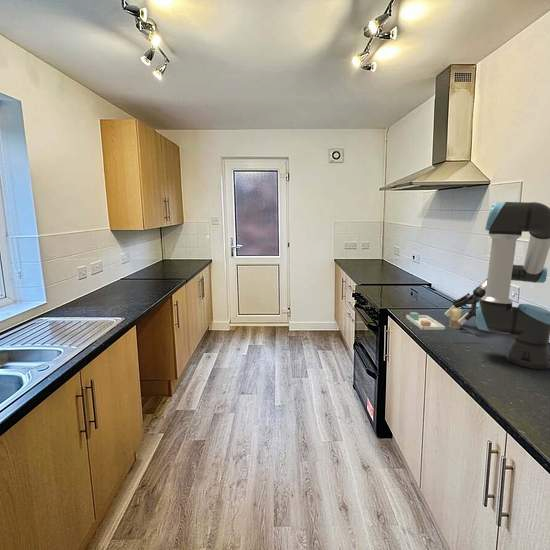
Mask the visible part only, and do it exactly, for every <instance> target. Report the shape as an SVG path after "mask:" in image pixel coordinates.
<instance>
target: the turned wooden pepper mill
mask: <svg viewBox="0 0 550 550" xmlns="http://www.w3.org/2000/svg"><path fill="white" fill-rule="evenodd" d="M450 308H451V307H450ZM462 312H463V309H462V308H461V307H459V308H454V307H453V308H451V315H450V316H449V328H450V329H454V330H460V328H461V324H460V323H459V322H458V321H459V320H460V319H461V318H462Z"/></svg>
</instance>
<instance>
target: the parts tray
mask: <svg viewBox="0 0 550 550" xmlns="http://www.w3.org/2000/svg"><path fill="white" fill-rule="evenodd" d="M405 318H406V319H407V320H409V321H410V322H411V323H412V324H414V325H415V326H416V327H417V328H419V329H420V330H422V331H427V330H428V331H445V330H446V326H444V325H443V324H442V323H440V322H439V321H437V320H435V319H434V318H432V317H430V316H428V315H427V314H419V318H418V320H413V319H412V318H411V317H410V314H406V315H405ZM421 320H428V321H429V322H431V326H422V325H421Z"/></svg>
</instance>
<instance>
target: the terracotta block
mask: <svg viewBox="0 0 550 550" xmlns="http://www.w3.org/2000/svg"><path fill="white" fill-rule="evenodd" d="M421 325H422V326H431V322H429V321H428V320H421Z"/></svg>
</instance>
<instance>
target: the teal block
mask: <svg viewBox="0 0 550 550" xmlns="http://www.w3.org/2000/svg"><path fill="white" fill-rule="evenodd" d="M409 315H410V317H411V318H412V319H413V320H418V318H419V315H420V314H419V313H418V312H417V311H415V312H414V311H413V312H412V311H411V312H409Z"/></svg>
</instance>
